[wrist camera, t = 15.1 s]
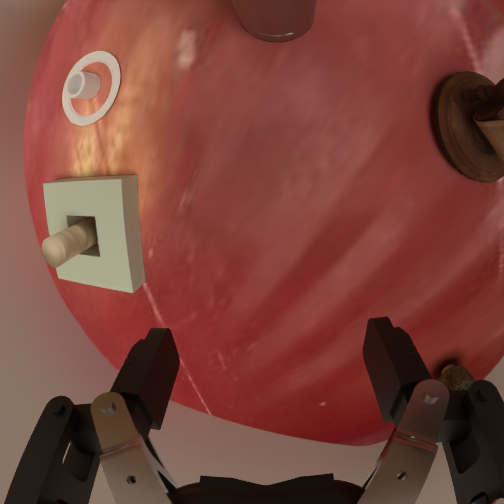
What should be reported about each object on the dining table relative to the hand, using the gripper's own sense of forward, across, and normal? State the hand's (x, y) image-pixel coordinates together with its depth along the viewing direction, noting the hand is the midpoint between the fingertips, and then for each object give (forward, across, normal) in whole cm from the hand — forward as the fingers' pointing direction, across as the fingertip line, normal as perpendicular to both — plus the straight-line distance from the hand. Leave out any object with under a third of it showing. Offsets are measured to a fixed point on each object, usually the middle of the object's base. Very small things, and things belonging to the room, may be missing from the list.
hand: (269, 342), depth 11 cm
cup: (+21, -32, +31) cm, 49 cm away
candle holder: (+30, +24, -19) cm, 43 cm away
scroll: (+24, -29, -10) cm, 38 cm away
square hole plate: (+28, +26, +3) cm, 38 cm away
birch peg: (+28, +26, +3) cm, 38 cm away
